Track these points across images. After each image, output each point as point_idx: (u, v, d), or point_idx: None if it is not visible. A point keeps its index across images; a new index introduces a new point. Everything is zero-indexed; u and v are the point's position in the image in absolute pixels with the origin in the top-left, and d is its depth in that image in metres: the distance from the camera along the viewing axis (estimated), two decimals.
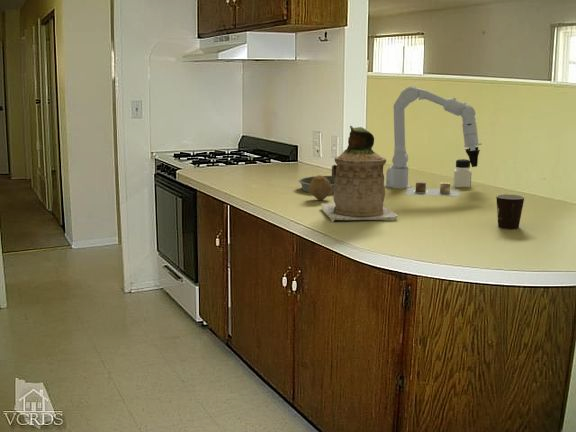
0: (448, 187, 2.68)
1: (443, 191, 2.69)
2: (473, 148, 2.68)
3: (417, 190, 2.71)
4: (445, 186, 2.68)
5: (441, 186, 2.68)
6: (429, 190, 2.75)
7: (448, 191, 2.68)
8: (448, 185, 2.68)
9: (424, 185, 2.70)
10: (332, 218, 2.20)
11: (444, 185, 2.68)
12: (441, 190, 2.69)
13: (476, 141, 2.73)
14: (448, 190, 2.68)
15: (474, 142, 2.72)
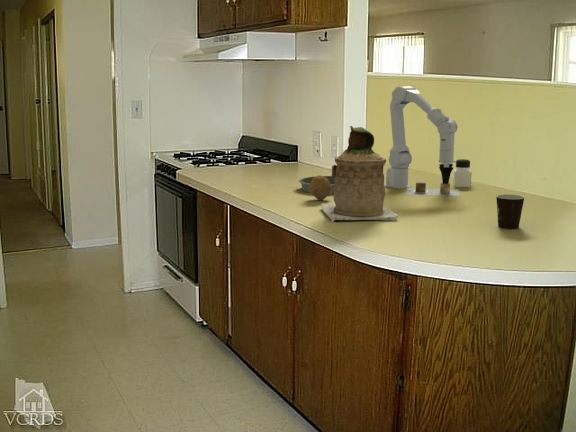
0: (448, 187, 2.68)
1: (443, 191, 2.69)
2: (447, 165, 2.61)
3: (417, 190, 2.71)
4: (445, 186, 2.68)
5: (441, 186, 2.68)
6: (429, 190, 2.75)
7: (448, 191, 2.68)
8: (448, 185, 2.68)
9: (424, 185, 2.70)
10: (332, 218, 2.20)
11: (444, 185, 2.68)
12: (441, 190, 2.69)
13: (451, 158, 2.65)
14: (448, 190, 2.68)
15: (449, 159, 2.65)
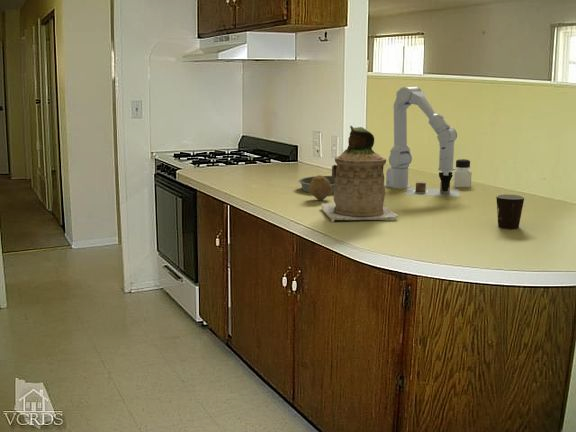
0: None
1: (443, 191, 2.69)
2: (446, 173, 2.62)
3: (417, 190, 2.71)
4: None
5: (441, 186, 2.68)
6: (429, 190, 2.75)
7: (448, 191, 2.68)
8: None
9: (424, 185, 2.70)
10: (332, 218, 2.20)
11: None
12: (441, 190, 2.69)
13: (451, 166, 2.66)
14: (448, 190, 2.68)
15: (448, 167, 2.65)
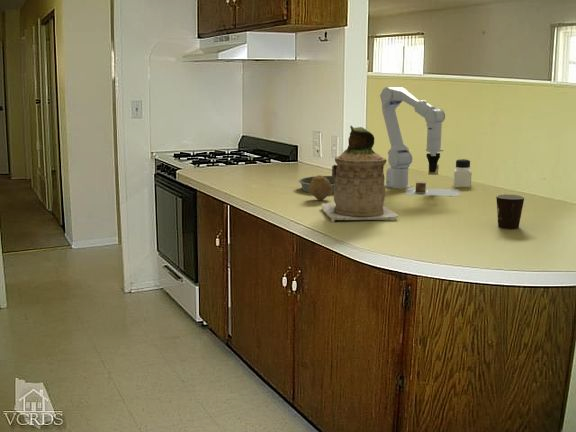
0: (436, 168, 2.67)
1: (431, 173, 2.68)
2: (434, 153, 2.61)
3: (417, 190, 2.71)
4: None
5: None
6: (429, 190, 2.75)
7: (436, 173, 2.68)
8: None
9: (424, 185, 2.70)
10: (332, 218, 2.20)
11: None
12: (429, 172, 2.68)
13: (438, 147, 2.65)
14: (436, 171, 2.68)
15: (436, 147, 2.65)
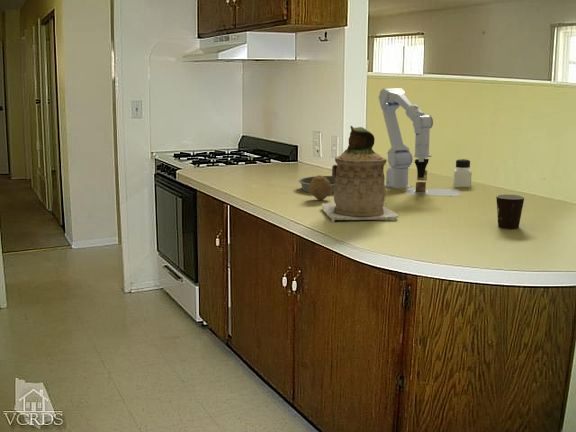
0: (425, 174, 2.69)
1: (420, 178, 2.70)
2: (422, 159, 2.63)
3: (417, 190, 2.71)
4: None
5: None
6: (429, 190, 2.75)
7: (425, 178, 2.69)
8: (425, 172, 2.69)
9: (424, 185, 2.70)
10: (332, 218, 2.20)
11: None
12: (418, 177, 2.70)
13: (426, 153, 2.67)
14: (425, 177, 2.69)
15: (424, 153, 2.67)
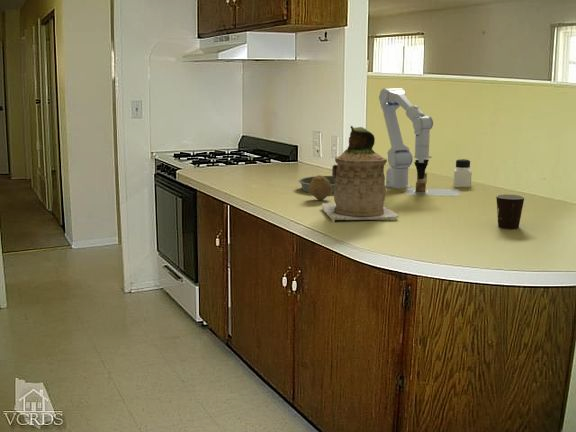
0: (425, 177, 2.69)
1: (420, 181, 2.70)
2: (421, 160, 2.63)
3: (417, 190, 2.71)
4: None
5: None
6: (429, 190, 2.75)
7: (425, 181, 2.69)
8: (425, 175, 2.69)
9: (424, 185, 2.70)
10: (333, 218, 2.20)
11: None
12: (418, 180, 2.70)
13: (426, 154, 2.67)
14: (425, 180, 2.69)
15: (424, 154, 2.67)
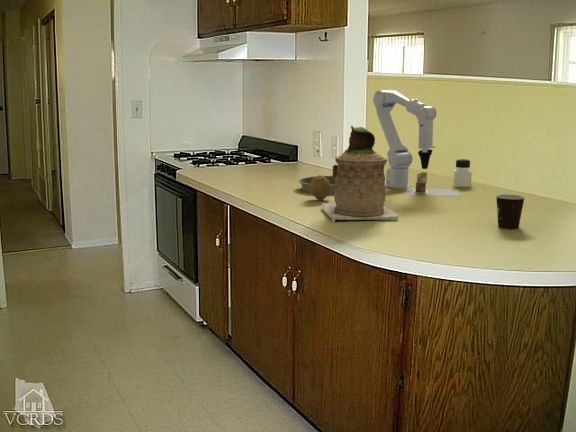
0: (425, 177, 2.69)
1: (420, 181, 2.70)
2: (425, 150, 2.64)
3: (417, 190, 2.71)
4: (422, 176, 2.69)
5: (418, 176, 2.70)
6: (429, 190, 2.75)
7: (425, 181, 2.69)
8: (425, 175, 2.69)
9: (424, 185, 2.70)
10: (333, 218, 2.20)
11: (421, 175, 2.69)
12: (418, 180, 2.70)
13: (430, 143, 2.68)
14: (425, 180, 2.69)
15: (428, 144, 2.67)
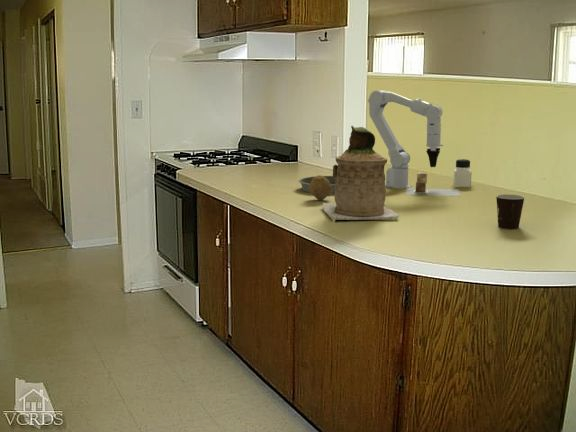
0: (425, 177, 2.69)
1: (420, 181, 2.70)
2: (433, 148, 2.69)
3: (417, 190, 2.71)
4: (422, 176, 2.69)
5: (418, 176, 2.70)
6: (429, 190, 2.75)
7: (425, 181, 2.69)
8: (425, 175, 2.69)
9: (424, 185, 2.70)
10: (333, 218, 2.20)
11: (421, 175, 2.69)
12: (418, 180, 2.70)
13: (438, 142, 2.73)
14: (425, 180, 2.69)
15: (436, 143, 2.72)
